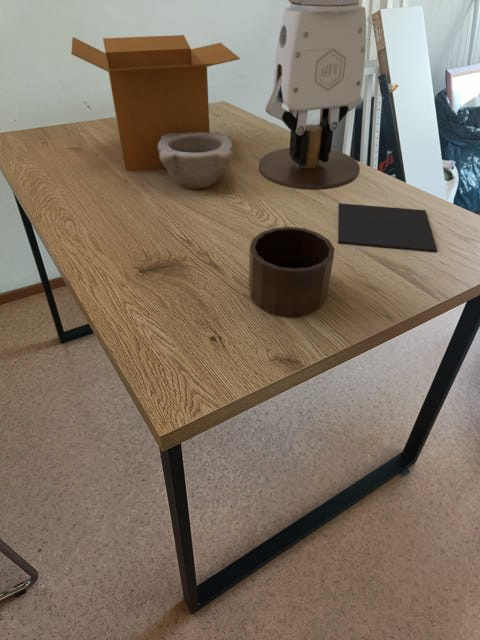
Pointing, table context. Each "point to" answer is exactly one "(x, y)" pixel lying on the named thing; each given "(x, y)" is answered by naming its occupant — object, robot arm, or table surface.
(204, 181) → the mortar
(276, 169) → the tin lid
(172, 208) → the table surface
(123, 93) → the box
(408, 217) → the mat
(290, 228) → the tin
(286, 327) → the table surface
